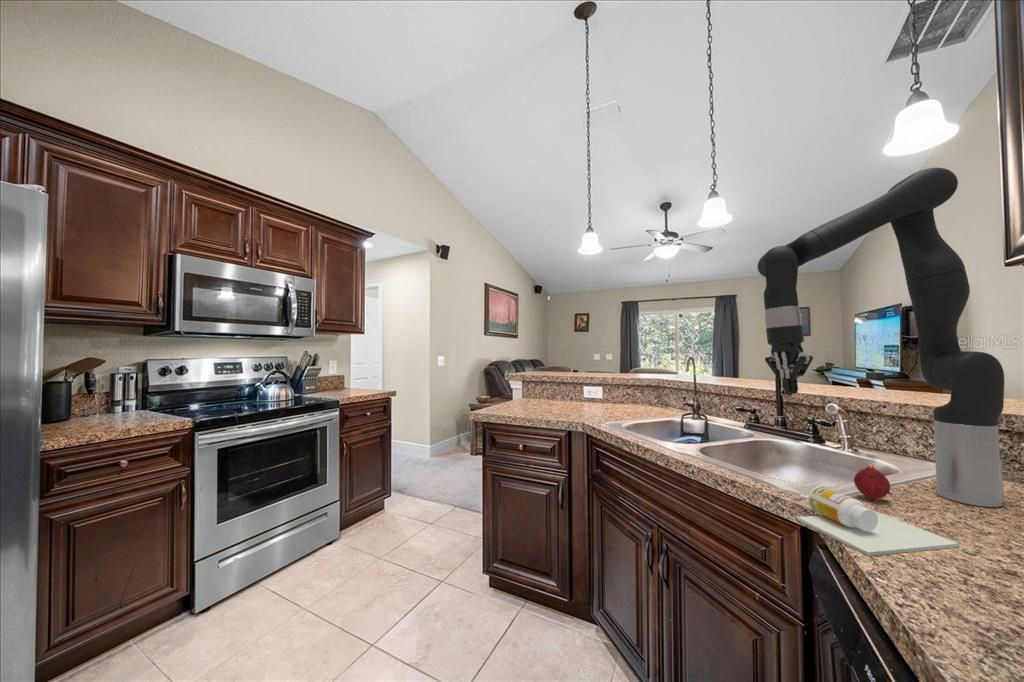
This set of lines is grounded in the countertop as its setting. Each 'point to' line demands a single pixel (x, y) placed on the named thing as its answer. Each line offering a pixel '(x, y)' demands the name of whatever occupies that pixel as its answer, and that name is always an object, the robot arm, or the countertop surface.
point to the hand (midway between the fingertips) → (791, 393)
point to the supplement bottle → (842, 509)
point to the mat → (880, 536)
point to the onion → (872, 483)
